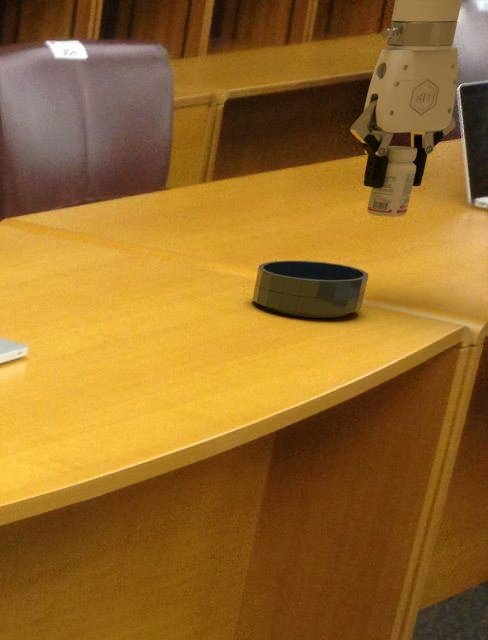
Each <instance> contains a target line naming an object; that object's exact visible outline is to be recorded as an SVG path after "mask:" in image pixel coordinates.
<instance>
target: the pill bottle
mask: <svg viewBox="0 0 488 640" xmlns="http://www.w3.org/2000/svg"><path fill="white" fill-rule="evenodd" d="M416 154H417V148H414V147H411V146H404V145H389V146H388V149H387V151H386V153H385V155H384V156H388V158H389V160H388V165H387V170H386V175H385V180H384V185H383V187H382V188H373V187H371V191H370V195H369V200H368V204H367V208H366V212H367V213H368V214H370V215H372V216H376V217H389V218H398V217H403V216H405V215H407V212H408V208H409V204H410V200H411V194H412V189H413V187H414V186H413V182H414V177H415V173H416V165H415V164H414V163H413V161H414V160H415V158H416Z"/></svg>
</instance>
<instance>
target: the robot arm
mask: <svg viewBox="0 0 488 640" xmlns="http://www.w3.org/2000/svg"><path fill="white" fill-rule="evenodd" d="M462 2H463V0H394V5H393V11H392V15H391V21H390V26H389V27H386V28H384V29H383V30H382V33H381V37H382V39H383V40H384V41H385V40H387V41H386V48H382V50H381V52H380V54H379V56H378V59H377V61H376V64H375V67H374V70H373V73H372V76H371V80H370V83H369V86H368V91H367V95H366V99H365V103H364V108H363V111H362V113H361V114H360V115H359V116H358V117H357V119H356V120H355V121H354V123H352V125H351V126H350V128H349V131H350V132H351V134H352V135H353V136H354V137H355V138H356V139H357V140H358V141H359V143H360V144H361V146H362V148H363V150H364V151H363V152H364V154H366V155H367V160H366V164H365V170H364V175H363V186H364V187H369V188H372V187H373V188H382V187H383V185H384V180H385V175H386V170H387V165H388V160H389V158H388V156H384V155H385V153H386V151H387V149H388V146H390V144H391V141H392V139H393V137H394V134H401V133H410V144H411V146H410V147H414V148H417V154H416V158H415V160H414V161H413V163H414V164H415V165H416V173H415V177H414V182H413V186H412V187H420V186H421V185H422V182H423V177H424V174H425V169H426V164H427V159H428V155H431V154H432V153H433V152H434V148H435V147H436V146H437V145H438V144H439V143H440V142H441V141H442V140H443V139H444V137H446V136H447V135H448V134H449V133H450V132H452V131H453V130H454V129H456V127H457V123H456V120H455V117H454V115H453V112H454V107H455V101H456V96H457V87H458V75H459V51H458V50H459V49H458V47H453V46H454V45H453V44H454V41H455V36H456V32H457V31H456V30H457V26H458V20H459V18H460V17H459V16H460V11H461V6H462ZM370 130H371V131H370Z"/></svg>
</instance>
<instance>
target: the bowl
mask: <svg viewBox="0 0 488 640" xmlns="http://www.w3.org/2000/svg"><path fill="white" fill-rule="evenodd" d="M368 280H369V273H368V272H366V270H363V269H360V268H357V267H354V266H350V265H346V264H341V263H340V264H339V263H331V262H324V261H314V260H313V261H312V260H274V261H268V262H264V263H261V264H259V266H258V268H257V273H256V278H255V284H254V289H253V295H252V300H253V302H255V303H256V304H258V305H260V306H262V308H264V309H265V310H267V311H270V312H272V313H276V314H280V315H284V316H289V317H297V318H307V319H308V318H309V319H334V318H341V317H346V316H348V315H350V313H355V312H357V311H360V310H361V309H362V307H363V302H364V297H365V292H366V288H367V284H368Z"/></svg>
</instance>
